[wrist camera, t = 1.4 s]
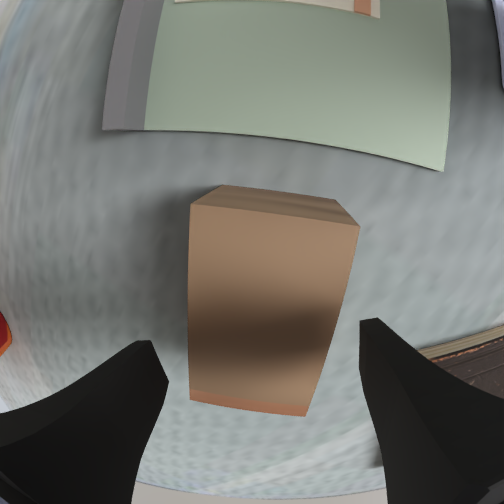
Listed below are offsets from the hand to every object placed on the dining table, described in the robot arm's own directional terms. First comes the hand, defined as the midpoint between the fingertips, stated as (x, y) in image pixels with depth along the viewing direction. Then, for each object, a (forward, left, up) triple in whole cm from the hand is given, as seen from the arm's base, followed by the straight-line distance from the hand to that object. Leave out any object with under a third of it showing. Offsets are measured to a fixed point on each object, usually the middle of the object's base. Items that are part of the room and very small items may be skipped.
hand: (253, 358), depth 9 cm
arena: (0, -15, -6) cm, 16 cm away
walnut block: (0, 0, -6) cm, 6 cm away
